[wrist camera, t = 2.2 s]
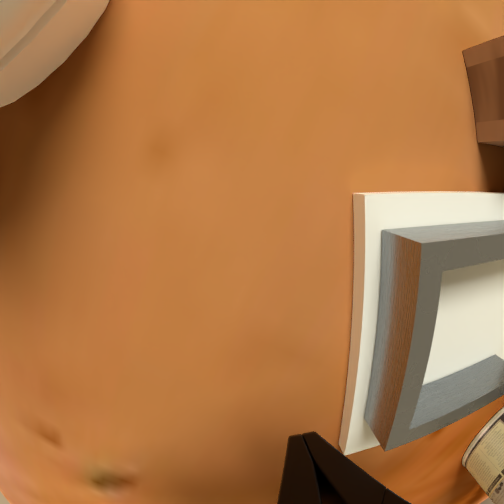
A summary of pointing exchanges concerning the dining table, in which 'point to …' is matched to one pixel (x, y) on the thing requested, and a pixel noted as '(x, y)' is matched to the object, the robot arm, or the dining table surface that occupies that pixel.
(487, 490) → the coffee can
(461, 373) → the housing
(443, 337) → the base board
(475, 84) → the hollow wooden box
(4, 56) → the honey pot
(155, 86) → the dining table surface
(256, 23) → the dining table surface
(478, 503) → the dining table surface
